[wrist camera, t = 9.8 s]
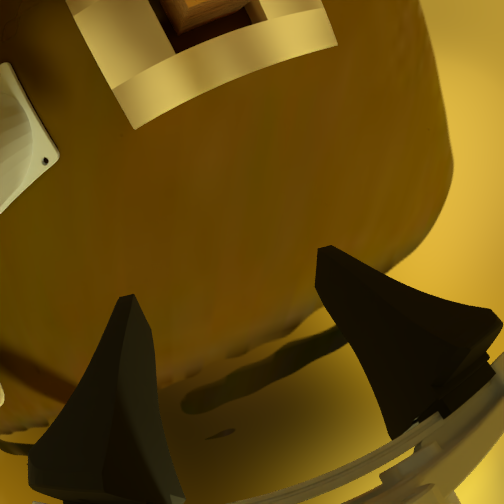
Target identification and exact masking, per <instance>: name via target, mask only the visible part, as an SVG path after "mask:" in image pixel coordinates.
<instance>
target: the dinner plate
mask: <svg viewBox="0 0 504 504" xmlns="http://www.w3.org/2000/svg"><path fill="white" fill-rule="evenodd" d="M3 402H4V391H3V388H2V386H1V383H0V406H1V405H2V404H3Z"/></svg>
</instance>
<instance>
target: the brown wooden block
mask: <svg viewBox="0 0 504 504" xmlns="http://www.w3.org/2000/svg"><path fill="white" fill-rule="evenodd" d="M250 1H251V0H159V2H160V4H161V6H162V8H163V9H164V11H165V13H166V15H167V17H168V19H169V21H170V22H171V24H172V26H173V28H174V30H175V32H176V34H177V36H179V35H181V34H183V33H186V32H188V31H190V30H193V29H195V28H197V27H200V26H202V25H205V24H207V23H210V22H212V21H215V20H218V19H221V18H223V17H226V16H229V15H232V14H234V13H236V12H237V11H238V10H239V9H241V8H242V7H243V6H245V5H246V4H247V3H248V2H250Z"/></svg>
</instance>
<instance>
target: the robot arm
mask: <svg viewBox="0 0 504 504" xmlns="http://www.w3.org/2000/svg"><path fill="white" fill-rule="evenodd" d="M44 157H46V158H48V160H49V162H48V164H46V163H45V162H44ZM58 159H59V151H58V149H57V148H56V146H55V144H54V143H53V141H52V139H51V138H50V136H49V135H48V133H47V131H46V130H45V128H44V126H43V124H42V123H41V121H40V119H39V118H38V116H37V114H36V112H35V110H34V109H33V107H32V105H31V103H30V101H29V100H28V98H27V96H26V94H25V92H24V90H23V88H22V86H21V84H20V82H19V80H18V78H17V76H16V74H15V72H14V70H13V68H12V66H11V64H10V63H8V62H5V63H2V64H1V65H0V214H1V213H2V212H3V211H4V210H5V209H6V208H7V206H8V205H9V204H10V203H11V202H12V201H13V200H14V199H15V198H16V197H17V196H18V195H20V194H21V193H22V192H23V191H24V190H25V189H26V188H27V187H28V186H29V185H30V184H31V183H32V182H33V181H34V180H36V179H37V178H38V177H39V176H40V175H41V174H42V173H44V172H45V171H46V170H47V169H48V168H49V167H51V166H52V165H53V164H54V163H55V162H56V161H57V160H58ZM315 288H316V290H317V293H318V295H319V297H320V299H321V301H322V303H323V305H324V307H325V308H326V310H327V311H328V312H329V314H330V316H331V317H332V319H333V320H334V322H335V323H336V325H337V326H338V328H339V329H340V331H341V332H342V334H343V335H344V337H345V338H346V339H347V341H348V342H349V344H350V345H351V347H352V349H353V350H354V352H355V354H356V356H357V357H358V359H359V361H360V363H361V365H362V367H363V369H364V372H365V374H366V376H367V378H368V380H369V383H370V385H371V387H372V389H373V392H374V394H375V397H376V399H377V402H378V404H379V407H380V410H381V413H382V415H383V418H384V421H385V424H386V428H387V431H388V434H389V436H390V438H391V439H392V441H391V442H389V443H387V444H386V445H384V446H382V447H381V448H378V449H376V450H375V451H373V452H371V453H369V454H367V455H365V456H363V457H361V458H359V459H357V460H355V461H353V462H351V463H348V464H346V465H344V466H342V467H340V468H337V469H335V470H333V471H331V472H328V473H326V474H324V475H321V476H318V477H316V478H313V479H311V480H308V481H305V482H303V483H300V484H297V485H294V486H291V487H288V488H285V489H282V490H278V491H275V492H272V493H268V494H265V495H262V496H258V497H253V498H250V499H245V500H241V501H237V502H232V503H227V504H297V503H300V502H303V501H305V500H308V499H311V498H314V497H316V496H319V495H321V494H324V493H326V492H329V491H331V490H333V489H335V488H338V487H340V486H343V485H345V484H347V483H349V482H351V481H353V480H355V479H357V478H359V477H361V476H363V475H365V474H367V473H369V472H371V471H373V470H375V469H377V468H379V467H380V466H382V465H384V464H386V463H387V462H389V461H391V460H393V459H394V458H396V457H398V456H400V455H401V454H403V453H404V452H406V451H407V450H409V449H411V448H412V447H414V446H415V445H416V446H415V448H414V453H413V454H412V455H411V456H409V457H408V458H406V459H404V460H403V461H401V462H400V463H398V464H396V465H395V466H393V467H391V468H389V469H388V470H386V471H384V472H382V473H381V474H380V475H379V477H380V479H381V481H382V483H383V484H381V485H379V486H377V487H375V488H374V489H372V490H370V491H368V492H366V493H364V494H362V495H359V496H358V497H355V498H353V499H351V500H349V501H347V502H344V503H342V504H461V503H460V501H459V499H458V497H457V496H456V494H455V492H454V490H455V489H456V488H457V487H458V486H459V485H460V484H461V483H462V482H463V481H464V480H465V478H466V477H467V476H468V475H469V474H470V473H471V472H472V471H473V470H474V469H475V468H476V467H477V465H478V464H479V463H480V462H481V461H482V459H483V458H484V457H485V456H486V455H487V453H488V452H489V451H490V450H491V448H492V447H493V446H494V445H495V444H496V442H497V441H498V440H499V438H500V437H501V436H502V434H503V433H504V352H503V353H502V354H501V355H500V356H499V357H498V358H497V359H496V360H495V361H494V362H493V363H492V364H491V365H490V364H489V363H488V362H487V360H489V358H490V357H489V355H488V354H487V352H486V351H487V349H488V348H489V347H490V345H491V344H492V343H493V341H494V340H495V339H496V337H497V336H498V334H499V333H500V331H501V329H502V327H503V322H502V321H501V320H500V319H499V318H498V317H497V315H496V314H495V313H494V312H493V311H492V310H491V309H488V308H481V307H475V306H469V305H465V304H460V303H456V302H452V301H449V300H445V299H442V298H439V297H436V296H433V295H430V294H427V293H424V292H421V291H419V290H417V289H414V288H412V287H410V286H407V285H405V284H403V283H400V282H398V281H396V280H394V279H392V278H390V277H388V276H386V275H385V274H383V273H381V272H379V271H377V270H375V269H373V268H372V267H370V266H368V265H366V264H364V263H363V262H361V261H359V260H357V259H356V258H354V257H352V256H350V255H349V254H347V253H345V252H343V251H341V250H340V249H338V248H336V247H334V246H332V245H330V246H326V247H322V248H318V253H317V266H316V278H315ZM28 481H29V482H28V483H29V486H30V487H31V488H32V489H33V490H35V491H37V492H40V493H42V494H45V495H48V496H51V497H54V498H57V499H60V500H63V504H183V503H184V502H185V500H186V498H185V496H184V493H183V491H182V488H181V486H180V483H179V480H178V478H177V475H176V472H175V469H174V466H173V463H172V460H171V456H170V453H169V449H168V446H167V442H166V438H165V434H164V430H163V426H162V421H161V417H160V413H159V405H158V395H157V380H156V364H155V351H154V344H153V338H152V332H151V328H150V326H149V324H148V322H147V320H146V318H145V316H144V314H143V312H142V310H141V308H140V306H139V303H138V301H137V299H136V297H135V295H134V294H131V295H127V296H123V297H119V299H118V301H117V303H116V305H115V308H114V310H113V312H112V315H111V317H110V319H109V322H108V324H107V326H106V329H105V331H104V333H103V335H102V338H101V340H100V342H99V345H98V347H97V349H96V351H95V353H94V355H93V357H92V359H91V361H90V363H89V365H88V367H87V369H86V371H85V373H84V375H83V377H82V379H81V380H80V382H79V384H78V386H77V388H76V389H75V391H74V392H73V394H72V395H71V397H70V399H69V400H68V402H67V403H66V405H65V406H64V408H63V409H62V411H61V412H60V414H59V415H58V416H57V418H56V419H55V421H54V422H53V423H52V424H51V426H50V427H49V428H48V430H47V431H46V432H45V433H44V434H43V436H42V437H41V438H40V439H39V440H38V441H37V442H36V444H35V445H34V446H33V447H32V448H31V449H30V450H29V451H28ZM33 504H46V503H41V502H36V501H34V502H33Z"/></svg>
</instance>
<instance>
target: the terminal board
mask: <svg viewBox="0 0 504 504" xmlns="http://www.w3.org/2000/svg"><path fill="white" fill-rule="evenodd" d="M65 1H66V3H67V5H68V7H69V9H70V11H71V13H72V15H73V17H74V19H75V21H76V23H77V25H78V27H79V29H80V31H81V33H82V35H83V37H84V39H85V41H86V43H87V45H88V47H89V49H90V50H91V52H92V54H93V56H94V58H95V60H96V62H97V64H98V66H99V67H100V69H101V71H102V73H103V75H104V77H105V78H106V80H107V82H108V84H109V86H110V88H111V89H112V91H113V93H114V95H115V97H116V98H117V100H118V102H119V104H120V105H121V107H122V109H123V111H124V113H125V114H126V116H127V118H128V120H129V121H130V123H131V125H132V127H133V128H134V130H135V129H137V128H138V127H140V126H142V125H143V124H145V123H147V122H149V121H150V120H152V119H154V118H156V117H157V116H159V115H161V114H163V113H165V112H166V111H168V110H170V109H172V108H174V107H176V106H178V105H180V104H182V103H184V102H186V101H188V100H190V99H192V98H194V97H196V96H198V95H200V94H202V93H204V92H206V91H208V90H210V89H213V88H215V87H217V86H219V85H222V84H224V83H226V82H229V81H231V80H233V79H236V78H238V77H241V76H243V75H246V74H248V73H251V72H253V71H256V70H259V69H261V68H264V67H267V66H270V65H272V64H275V63H278V62H281V61H284V60H287V59H290V58H294V57H297V56H300V55H303V54H307V53H310V52H314V51H318V50H321V49H325V48H329V47H333V46H337V45H338V44H337V41H336V38H335V35H334V33H333V30H332V27H331V25H330V22H329V19H328V17H327V14H326V12H325V9H324V7H323V5H322V2H321V0H251V1H250V2H248V3H247V4H246V5H245V6H244V7H245V10H246V12H247V14H248V16H249V18H250V20H251V22H252V24H253V25H250V26H247V27H244V28H241V29H238V30H235V31H232V32H229V33H226V34H223V35H221V36H218V37H216V38H213V39H210V40H208V41H205V42H203V43H201V44H198V45H196V46H194V47H191V48H189V49H187V50H185V51H182V52H180V53H178V54H175V52H174V50H173V48H172V46H171V44H170V42H169V40H168V38H167V36H166V34H165V32H164V30H163V28H162V26H161V25H160V23H159V21H158V19H157V17H156V15H155V13H154V11H153V9H152V7H151V5H150V4H149V2H148V0H65Z"/></svg>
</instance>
